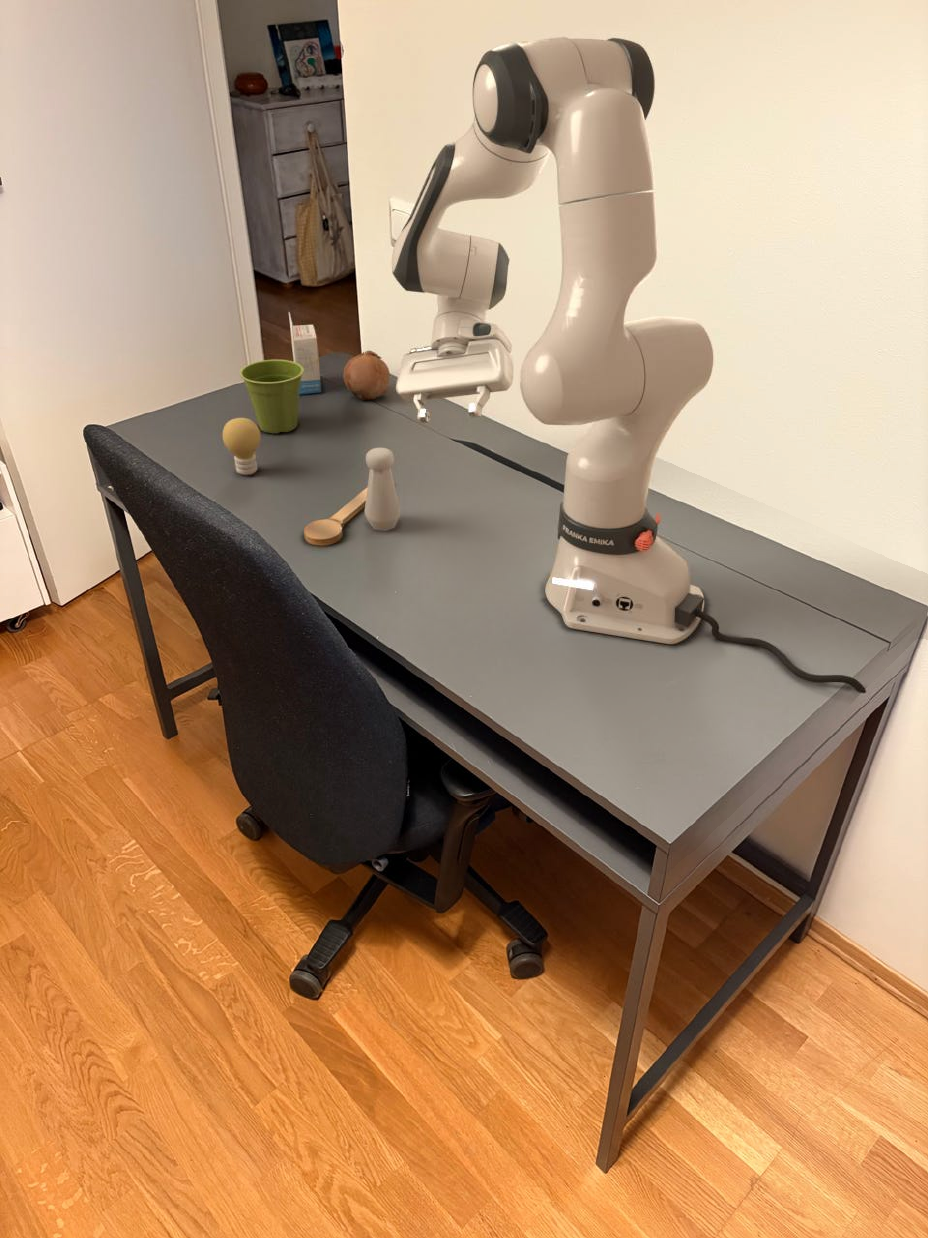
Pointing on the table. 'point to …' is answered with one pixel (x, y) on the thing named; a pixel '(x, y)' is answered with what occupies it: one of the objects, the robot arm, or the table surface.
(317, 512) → the table surface
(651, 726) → the table surface
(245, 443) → the light bulb
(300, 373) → the plant pot
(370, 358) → the onion
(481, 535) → the table surface
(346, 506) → the wooden spoon
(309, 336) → the ink box
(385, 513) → the salt shaker
